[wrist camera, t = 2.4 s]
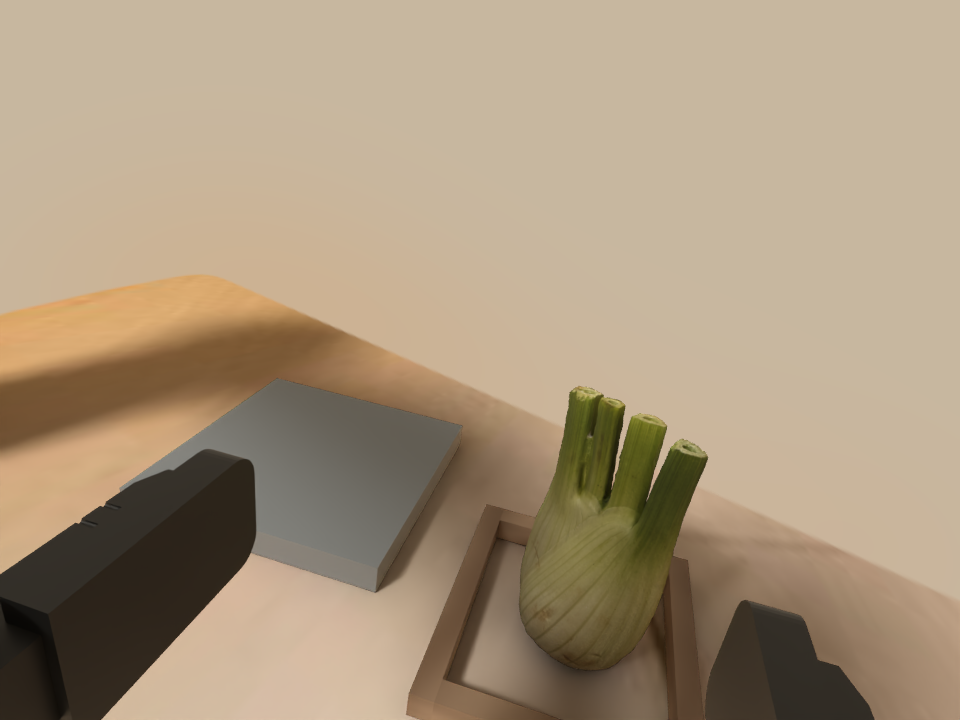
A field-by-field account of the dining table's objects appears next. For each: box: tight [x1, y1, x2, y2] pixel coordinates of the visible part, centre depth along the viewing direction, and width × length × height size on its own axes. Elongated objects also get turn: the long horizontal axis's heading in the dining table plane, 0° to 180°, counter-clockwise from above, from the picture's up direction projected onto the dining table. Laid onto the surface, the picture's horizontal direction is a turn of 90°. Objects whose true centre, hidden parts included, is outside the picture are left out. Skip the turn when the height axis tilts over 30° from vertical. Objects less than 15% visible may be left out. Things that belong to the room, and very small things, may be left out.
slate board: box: [120, 378, 463, 592], centre depth 34 cm, size 14×14×2 cm
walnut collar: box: [406, 504, 704, 720], centre depth 26 cm, size 11×12×1 cm
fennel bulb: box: [519, 386, 708, 670], centre depth 24 cm, size 6×5×12 cm
